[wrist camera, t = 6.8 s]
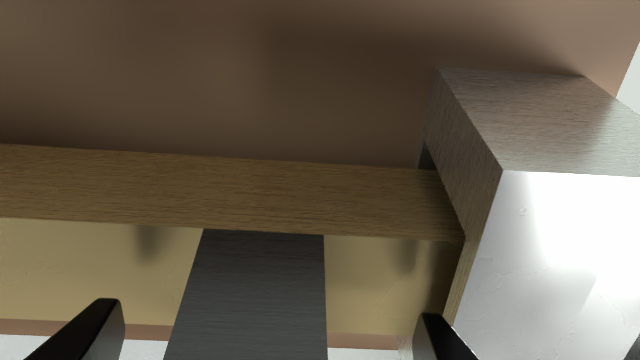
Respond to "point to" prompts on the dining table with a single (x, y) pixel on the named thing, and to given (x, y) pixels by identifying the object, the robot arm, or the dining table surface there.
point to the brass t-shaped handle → (225, 247)
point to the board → (276, 78)
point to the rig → (537, 213)
